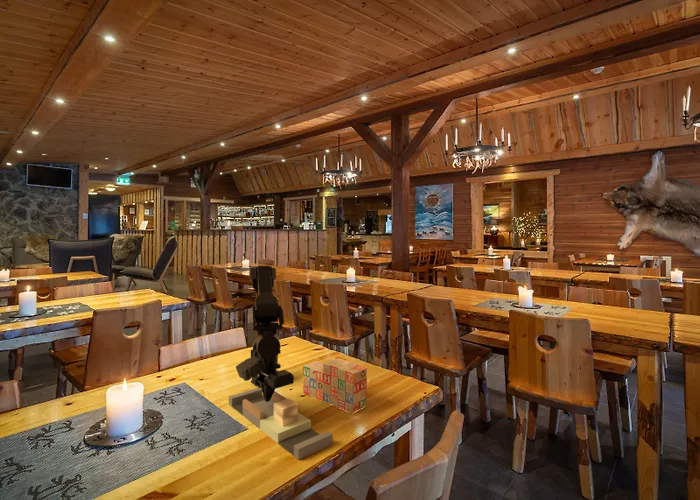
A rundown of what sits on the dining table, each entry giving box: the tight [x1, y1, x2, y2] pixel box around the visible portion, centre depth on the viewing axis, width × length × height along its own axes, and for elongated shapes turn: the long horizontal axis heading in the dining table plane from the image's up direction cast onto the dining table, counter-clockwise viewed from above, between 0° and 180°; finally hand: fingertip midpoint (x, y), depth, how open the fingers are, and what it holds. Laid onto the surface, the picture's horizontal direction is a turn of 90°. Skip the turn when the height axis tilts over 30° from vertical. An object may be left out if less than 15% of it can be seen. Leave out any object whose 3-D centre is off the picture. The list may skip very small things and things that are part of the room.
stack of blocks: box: [302, 357, 368, 414], centre depth 122 cm, size 21×6×12 cm, turn 49°
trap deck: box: [228, 387, 334, 460], centre depth 108 cm, size 10×37×4 cm, turn 41°
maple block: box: [274, 398, 299, 426], centre depth 104 cm, size 4×4×4 cm
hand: (267, 401), depth 111 cm, fingers closed
